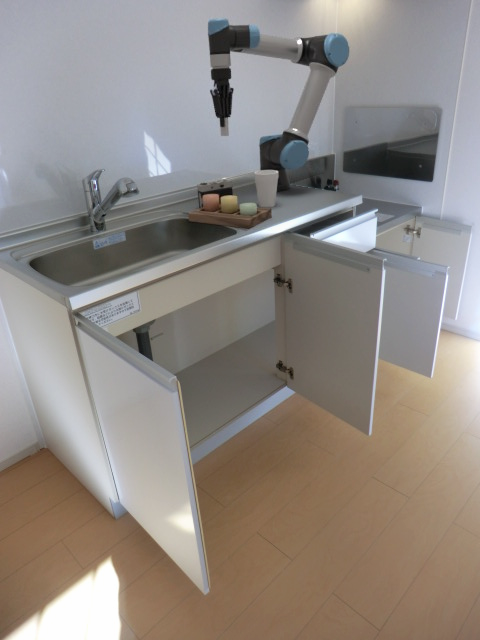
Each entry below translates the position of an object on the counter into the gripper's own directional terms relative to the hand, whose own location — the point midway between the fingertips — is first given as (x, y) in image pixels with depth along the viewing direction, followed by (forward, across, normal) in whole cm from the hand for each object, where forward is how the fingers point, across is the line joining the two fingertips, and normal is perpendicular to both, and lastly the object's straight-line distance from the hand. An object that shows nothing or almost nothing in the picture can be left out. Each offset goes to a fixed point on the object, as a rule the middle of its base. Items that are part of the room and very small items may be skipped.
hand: (224, 135), depth 189 cm
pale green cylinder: (+26, +21, +22) cm, 40 cm away
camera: (+27, +5, -4) cm, 27 cm away
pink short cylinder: (+23, +21, +6) cm, 32 cm away
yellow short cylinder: (+23, +21, +14) cm, 34 cm away
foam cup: (+27, -2, +17) cm, 32 cm away
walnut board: (+26, +21, +14) cm, 37 cm away
